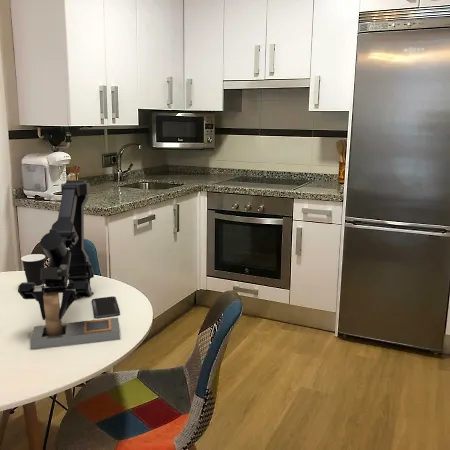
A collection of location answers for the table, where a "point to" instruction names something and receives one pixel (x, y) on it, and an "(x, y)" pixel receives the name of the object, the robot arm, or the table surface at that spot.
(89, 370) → the table surface
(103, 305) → the phone
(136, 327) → the table surface
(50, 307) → the peg
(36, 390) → the table surface
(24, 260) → the dixie cup
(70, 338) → the plate with square holes
